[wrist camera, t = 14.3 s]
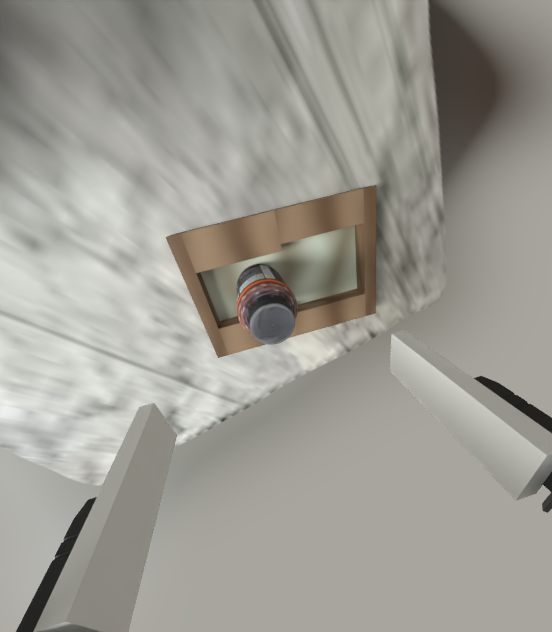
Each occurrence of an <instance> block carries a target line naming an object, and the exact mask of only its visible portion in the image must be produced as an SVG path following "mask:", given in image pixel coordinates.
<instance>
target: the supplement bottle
mask: <svg viewBox="0 0 552 632" xmlns="http://www.w3.org/2000/svg"><path fill="white" fill-rule="evenodd" d="M236 291H237V314H238V318H239V321H240V323H241V325H242V327H243V328H244V329H245V330H246V331H247V332H248V333H250V334H251V335H253V337H254V338H255V339H256V340H258V341H259V342H261V343H264V344H277V343H280V342H283V341H284V340H286V339H287V338H288V337H289V336H290V335H291V334H292V332H293V330H294V328H295V319H296V317H297V313H298V304H297V301H296V298H295V296H294V294H293V293H292V291H291V289H290V288H289V287H288V286H287V284H286V283H285V282H284V280H283V279H282V277H281V276H280V275H279V273H278V272H277V271H276V270H275V269H273V268H272V267H270V266H268V265H264V264H255V265H252V266H249V267H247V268H246V269H245V270H244V271H243V272H242V273H241V274H240V276H239V278H238V281H237V288H236Z"/></svg>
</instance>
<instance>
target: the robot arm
mask: <svg viewBox="0 0 552 632" xmlns="http://www.w3.org/2000/svg"><path fill="white" fill-rule="evenodd" d="M390 371H391V372H392V373H393V374H394V375H395V376H396V377H397V378H398V380H399V381H400V382H401V383H402V384H403V385H404V386H405V387H406V388H407V389H408V390H409V391H410V392H411V393H412V394H413V395H414V396H415V397H416V398H417V399H418V400H419V401H420V402H421V403H422V404H423V405H424V406H425V407H426V408H427V409H428V410H429V412H430V413H431V414H432V415H433V416H434V417H435V418H436V419H437V420H438V421H439V422H440V423H441V424H442V425H443V426H444V427H445V428H446V429H447V430H448V431H449V432H450V433H451V434H452V435H453V436H454V437H455V438H456V439H457V440H458V441H459V442H460V444H461V445H463V446H464V448H465V449H466V450H467V451H468V452H469V453H470V454H471V455H472V456H473V457H474V458H475V459H476V460H477V461H478V462H479V463H480V464H481V465H482V466H483V467H484V468H485V469H486V470H487V471H488V472H489V473H490V474H491V475H492V477H493V478H494V479H496V481H497V482H498V483H499V484H500V485H501V486H502V487H503V488H504V489H505V490H506V491H507V492H508V493H509V494H510V495H511V496H512V497H513V498H514V499H515V500H519V499H522V498H524V497H527V496H530V495H533V494H536V493H537V491H538V490H539V489H540V488H541V486H542V485H544V486H545V487H546V488H548V489H549V490H550V491H551V494H550V495H549V496H548V497H547V498H546V500H545V501H544V502H543V503H542V507H543V511H545V512H549V511H550V510H551V509H552V418H551V417H550V416H548V415H547V414H545V413H543V412H542V411H540V410H539V409H537V408H536V407H534V406H533V405H531V404H528V403H527V401H525V400H524V399H522V398H521V397H519V396H518V395H514V393H513V392H511V391H510V390H508V389H507V388H505V387H504V386H502V385H501V384H499V383H497V382H495V381H492V380H490V379H488V378H485V377H482V376H480V377H477V378H472V377H471V376H470V375H468V374H467V373H465V372H464V371H462V370H461V369H459V368H458V367H457V366H455V365H454V364H452V363H451V362H450V361H448V360H447V359H445V358H444V357H443V356H441V355H440V354H438V353H437V352H435V351H434V350H433V349H431V348H430V347H428V346H427V345H426V344H424V343H423V342H421V341H420V340H418V339H417V338H416V337H414V336H413V335H411V334H410V333H408V332H407V331H406V330H402V331H399V332H395V333H392V338H391V357H390ZM176 437H177V434H176V433H175V432H174V430H173V429H172V427H171V426H170V424H169V423H168V422H167V420H166V419H165V417H164V416H163V415H162V413H161V412H160V410H159V409H158V408H157V406H156V405H155V403H152V404H149V405H145V406H142V407H139V409H138V411H137V413H136V415H135V417H134V420H133V422H132V424H131V426H130V428H129V430H128V432H127V434H126V437H125V439H124V441H123V443H122V445H121V447H120V449H119V451H118V453H117V456H116V458H115V460H114V462H113V464H112V466H111V468H110V470H109V473H108V475H107V477H106V479H105V481H104V483H103V485H102V487H101V490H100V492H99V494H98V496H97V497H96V498H93V499H89V500H88V501H87V502H86V503H85V505H84V506H83V508H82V509H81V510H80V511H79V513H78V514H77V515H76V517H75V518H74V520H73V522H72V524H71V526H70V528H69V529H68V531H67V533H66V536H65V537H64V542H63V543H61V545H60V547H59V549H58V551H57V553H56V555H55V559H54V560H53V561H52V563H51V565H50V566H49V568H48V570H47V572H46V574H45V576H44V578H43V580H42V582H41V584H40V586H39V588H38V590H37V592H36V594H35V596H34V598H33V600H32V602H31V604H30V605H29V607H28V609H27V611H26V613H25V615H24V617H23V619H22V621H21V623H20V625H19V627H18V629H17V631H16V632H128V631H129V627H130V623H131V619H132V615H133V610H134V607H135V603H136V598H137V595H138V590H139V587H140V582H141V579H142V575H143V570H144V566H145V562H146V558H147V554H148V550H149V546H150V542H151V538H152V534H153V530H154V526H155V522H156V518H157V514H158V510H159V506H160V502H161V497H162V494H163V489H164V486H165V482H166V477H167V473H168V469H169V465H170V461H171V457H172V453H173V449H174V445H175V441H176Z"/></svg>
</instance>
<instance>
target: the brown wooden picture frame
mask: <svg viewBox="0 0 552 632" xmlns="http://www.w3.org/2000/svg"><path fill="white" fill-rule="evenodd" d="M166 239H167V241H168V244H169V246H170V248H171V251H172V253H173V255H174V257H175V260H176V262H177V264H178V267H179V269H180V271H181V274H182V276H183V278H184V280H185V283H186V285H187V287H188V290H189V292H190V294H191V296H192V299H193V301H194V303H195V306H196V308H197V310H198V313H199V315H200V317H201V319H202V322H203V324H204V326H205V329H206V331H207V333H208V335H209V338H210V340H211V342H212V345H213V347H214V349H215V352H216V354H217V356H218V358H219V357H223V356H226V355H230V354H233V353H237V352H240V351H244V350H247V349H251V348H254V347H258V346H262V345H265V344H264V343H261V342H259V341H258V340H256V339H255V338H254V337H253V335H251V334H250V333H248V332H247V331H246V330H245V329H244V328H243V327H242V325H241V323H240V321H239V318H238V314H237V291H236V288H237V281H238V278H239V276H240V274H241V273H242V272H243V271H244V270H245V269H246V268H247V267H249V266H252V265H255V264H264V265H268V266H270V267H272V268H273V269H275V270H276V271H277V272H278V273H279V275H280V276H281V277H282V279H283V280H284V282H285V283H286V284H287V286H288V287H289V288H290V289H291V291H292V293H293V294H294V296H295V298H296V301H297V304H298V313H297V317H296V319H295V328H294V330H293V332H292V334H291V335H290V336H289V337H288V338H290V337H293V336H297V335H300V334H304V333H307V332H311V331H314V330H318V329H322V328H325V327H329V326H332V325H336V324H339V323H343V322H346V321H350V320H353V319H357V318H360V317H364V316H367V315H371V314H374V313H376V185H375V186H369V187H364V188H360V189H356V190H352V191H347V192H343V193H339V194H335V195H331V196H327V197H323V198H319V199H315V200H311V201H307V202H303V203H299V204H295V205H291V206H287V207H283V208H279V209H275V210H271V211H266V212H262V213H258V214H254V215H250V216H246V217H242V218H238V219H234V220H230V221H226V222H222V223H218V224H214V225H210V226H206V227H202V228H198V229H194V230H189V231H185V232H181V233H177V234H173V235H170V236H168V237H166Z"/></svg>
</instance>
